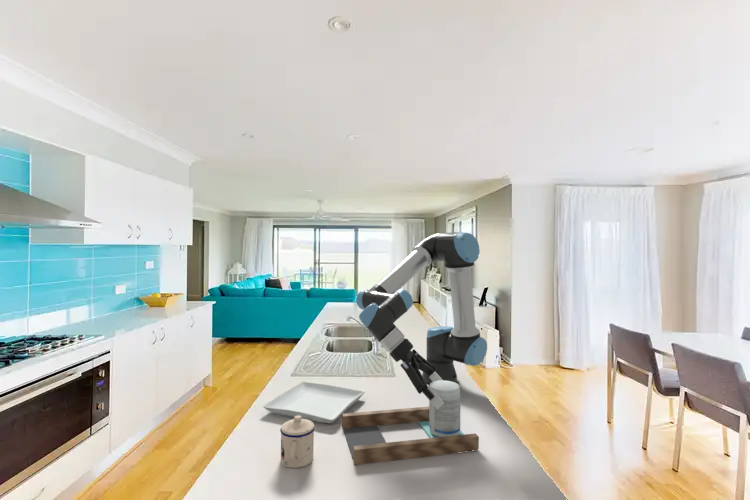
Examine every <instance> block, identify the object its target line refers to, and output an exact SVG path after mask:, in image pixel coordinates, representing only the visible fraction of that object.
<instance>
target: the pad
mask: <svg viewBox="0 0 750 500" xmlns="http://www.w3.org/2000/svg"><path fill="white" fill-rule="evenodd" d="M418 424H419V425H420V426H421V428H422V429H423V431H424V433H426V434H427V436H428V438H436V437H437V436H435V435H433V434H432V433H431V432H430V429H429V421H423V422H418ZM459 435H465V433H464V432H463V431H462V430H461V429H460V434H459Z"/></svg>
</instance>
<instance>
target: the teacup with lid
mask: <svg viewBox="0 0 750 500" xmlns="http://www.w3.org/2000/svg"><path fill="white" fill-rule="evenodd" d="M279 431H280V432H279V433H280V463H281V464H282V465H283V466H285V467H286V468H291V469H299V468H303V467H306V466H308V465H309V464H311V463H312V461H313V460H314V444H315V443H314V439H315V438H314V435H315V433H314V432H315V424H314V421H311V420H307V419H302V417H301V416H299V415H298V416H295V417H293V419H289V420H287V421H285V422H284V423H283V424H282V425H281V427H280V429H279Z"/></svg>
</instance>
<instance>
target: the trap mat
mask: <svg viewBox="0 0 750 500" xmlns="http://www.w3.org/2000/svg"><path fill="white" fill-rule="evenodd" d="M342 429H343V428H342ZM343 434H344V437H345V439H346V443H347V446H348V449H349V452H350V455H351V458H352V460H353V446H359V445H369V444H379V443H387V442H386V440H385V438H384V436H383V433H382V432H381V430H380V428H379V426H369V427H358V428H347V429H343Z"/></svg>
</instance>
